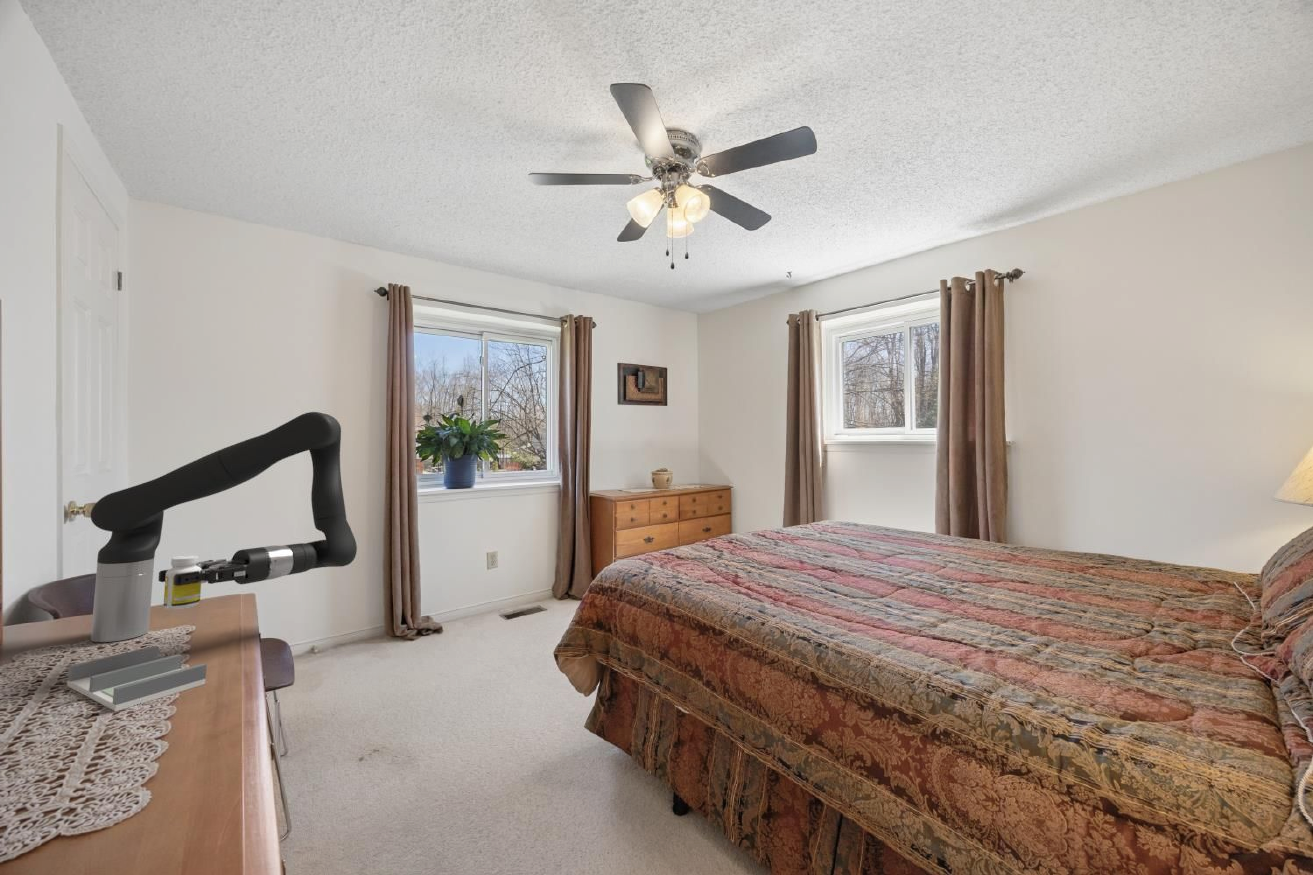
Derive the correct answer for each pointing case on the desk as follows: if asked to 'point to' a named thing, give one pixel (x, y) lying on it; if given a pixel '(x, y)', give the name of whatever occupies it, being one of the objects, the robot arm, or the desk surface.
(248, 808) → the desk surface
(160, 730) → the desk surface
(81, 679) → the divided tray
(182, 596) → the supplement bottle
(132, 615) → the robot arm
